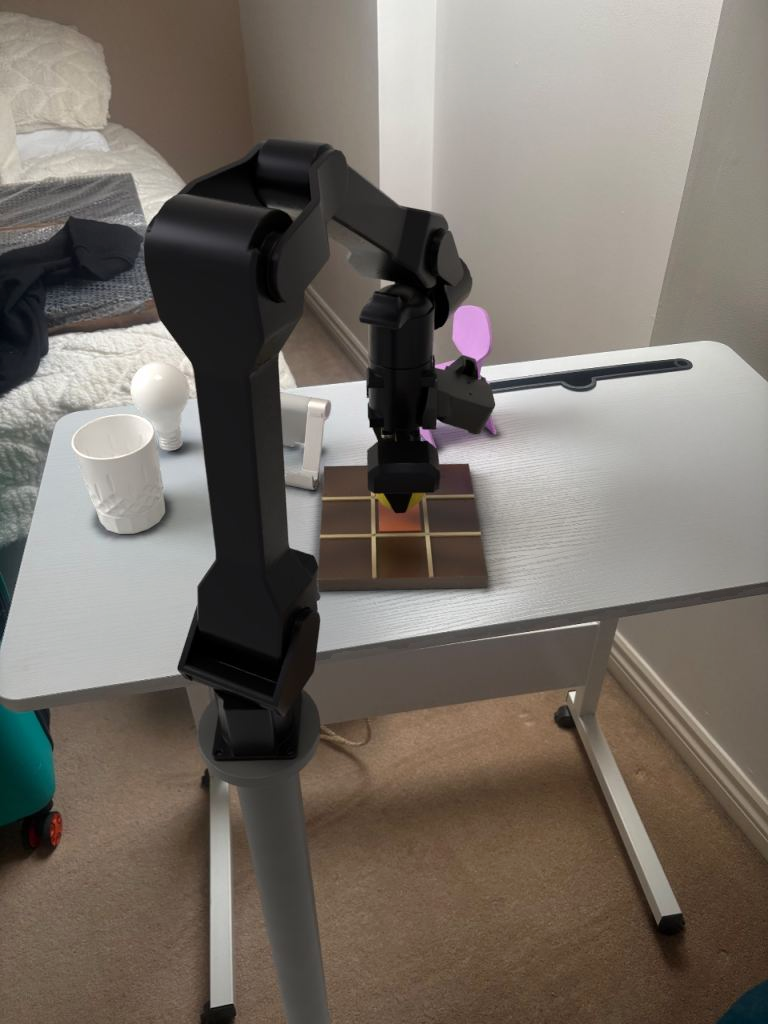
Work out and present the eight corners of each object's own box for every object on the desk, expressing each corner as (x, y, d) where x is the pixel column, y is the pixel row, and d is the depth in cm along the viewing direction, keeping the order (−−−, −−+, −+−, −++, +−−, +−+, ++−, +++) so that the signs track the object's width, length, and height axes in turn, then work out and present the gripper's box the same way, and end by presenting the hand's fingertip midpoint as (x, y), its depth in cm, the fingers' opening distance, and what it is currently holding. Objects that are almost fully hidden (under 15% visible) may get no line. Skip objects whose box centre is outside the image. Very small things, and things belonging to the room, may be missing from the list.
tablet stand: (240, 480, 92) (231, 416, 87) (268, 441, 98) (261, 379, 92) (313, 494, 90) (308, 429, 85) (337, 453, 96) (334, 391, 90)
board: (486, 587, 79) (488, 574, 78) (318, 591, 79) (317, 578, 77) (467, 474, 93) (468, 461, 92) (324, 476, 92) (323, 464, 91)
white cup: (128, 549, 83) (106, 469, 77) (79, 519, 87) (54, 440, 81) (186, 509, 88) (171, 431, 82) (138, 482, 92) (119, 405, 85)
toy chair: (404, 419, 101) (406, 305, 92) (468, 404, 104) (476, 291, 94) (434, 456, 95) (439, 338, 86) (501, 438, 98) (513, 322, 88)
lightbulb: (134, 460, 95) (114, 376, 88) (159, 430, 100) (141, 348, 93) (186, 467, 94) (169, 383, 87) (208, 436, 99) (194, 354, 92)
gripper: (506, 409, 66) (491, 555, 76) (480, 305, 80) (470, 439, 90) (366, 411, 65) (369, 557, 75) (365, 307, 80) (367, 441, 90)
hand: (399, 493), depth 83 cm, fingers closed on lemon, 5 cm apart
